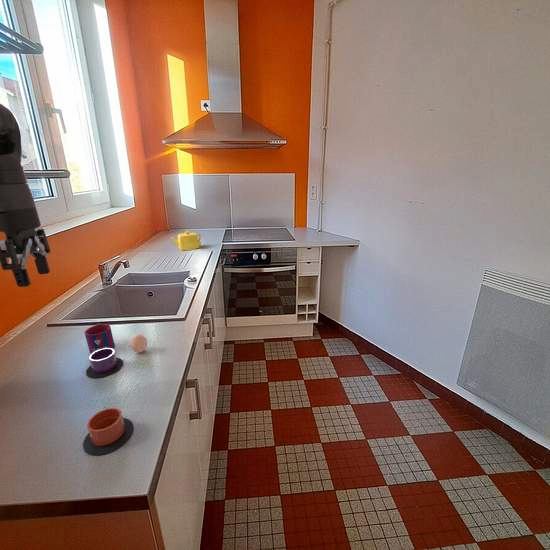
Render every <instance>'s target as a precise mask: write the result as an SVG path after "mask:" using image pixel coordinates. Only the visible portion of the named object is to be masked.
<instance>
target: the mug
mask: <svg viewBox="0 0 550 550" xmlns="http://www.w3.org/2000/svg"><path fill="white" fill-rule="evenodd" d="M84 335H85V340H86V344H87V348H88V351H89V354H90V355H91V354H92V353H94V352H95V351H97V350H100V349H104V348H112V349H115V347H116V345H115V341H114V337H113V331H112V328H111V325H110V324H108V323H100V322H99V323H96V325H95V324H94V325H92V326H90V327H88V328H87V329H85V330H84Z"/></svg>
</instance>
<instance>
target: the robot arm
mask: <svg viewBox="0 0 550 550" xmlns="http://www.w3.org/2000/svg"><path fill="white" fill-rule="evenodd" d="M22 145H23V143H22V131H21V126H20V123H19V121H18V119H17V117H16V115H15V114H14V112H12V110H11V109H10V108H9V107H7V106H6V105H4V104H2V103H0V233H3V234H4V235H5V239H0V265H1V269H2V270H3V271H11V272H12V274H13V277H14V280H15V283H16V286H17V287H18V288H25V287H26V288H27V287H29V286H30V285H32V282H31V279H30V277H29V273H28V269H27V268H26V266H27V265H26V264H27V260H29V259H30V256H32V257H33V258H34V264H35V266H36V270H37V274H38V275H47V274H49V273H50V272H51V270H50V267H49V266H50V265H49V263H48V259H47V258H48V255H49V254H50V253H51V248H50V245H49V241H48V238H47V235H46V232H45V229H44V228H40V227H41V226H42V224H41V220H40V216H39V212H38V209H37V205H36V203H35V199H34V195H33V193H32V190H31V188H30V185H29V183H28V180H27V175H26V171H25V169H24V166H23V162H22V159H23V157H22V156H23V146H22ZM7 259H8V260H7Z"/></svg>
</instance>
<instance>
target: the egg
mask: <svg viewBox="0 0 550 550" xmlns="http://www.w3.org/2000/svg"><path fill="white" fill-rule="evenodd" d="M147 347H148V341H147V338H146V337H145V336H144V335H143V334H140V333H137V334H135V335H133V337H132V338H131V340H130V348H131V350H132V351H133V352H134V353H136V354H137V353H138V354H139V353H143V352H145V350H146V349H147Z"/></svg>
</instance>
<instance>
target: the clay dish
mask: <svg viewBox="0 0 550 550" xmlns="http://www.w3.org/2000/svg"><path fill="white" fill-rule="evenodd" d="M123 418H124V416H123V412H122V410H121V409H119V408H118V407H108V408H104V409H102V410H99V411H98V412H96V413H95V414H93V415H92V416H91V417H90V418H89V420H88V422H87V424H86V426H87V431H88V433H89V434H90V438H91V441H92V443H93V444H94V445H97V446H104V445H108V444H111V443H113V442H114V441H116V440H117V439H118V438H120V436H121V435H122V434H123V433H124V430H125V424H124V420H123Z"/></svg>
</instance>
